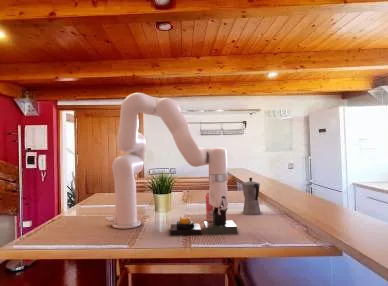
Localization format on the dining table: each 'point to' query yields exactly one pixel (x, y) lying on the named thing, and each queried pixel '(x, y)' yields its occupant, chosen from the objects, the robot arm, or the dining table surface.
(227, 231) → the control panel
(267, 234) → the dining table surface
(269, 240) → the dining table surface
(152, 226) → the dining table surface
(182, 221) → the button
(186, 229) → the button housing
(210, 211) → the soda can
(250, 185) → the coffeepot
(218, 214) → the dial knob
